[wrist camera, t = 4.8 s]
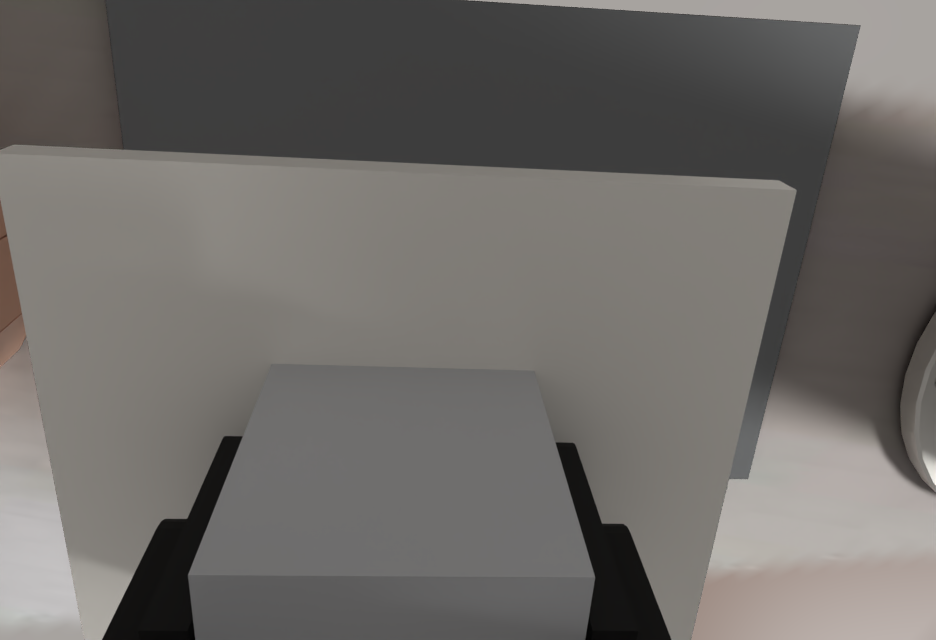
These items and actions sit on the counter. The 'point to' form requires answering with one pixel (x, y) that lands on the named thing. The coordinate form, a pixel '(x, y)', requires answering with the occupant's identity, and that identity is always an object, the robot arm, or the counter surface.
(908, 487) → the counter surface
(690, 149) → the mat
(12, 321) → the bowl
